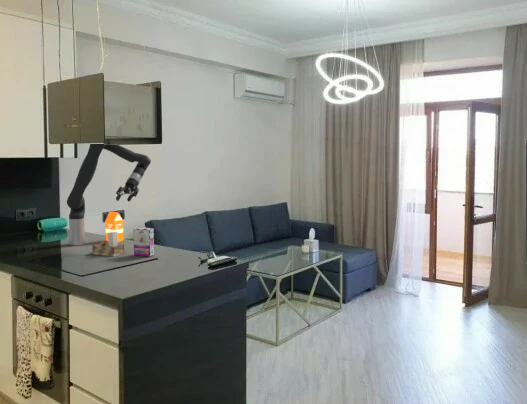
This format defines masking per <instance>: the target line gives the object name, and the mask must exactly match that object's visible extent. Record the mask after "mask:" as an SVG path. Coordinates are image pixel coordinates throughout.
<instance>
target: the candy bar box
mask: <svg viewBox="0 0 527 404" xmlns="http://www.w3.org/2000/svg"><path fill="white" fill-rule="evenodd" d="M154 232H155V228H153V227H151V228H150V227H135V228H133V255H134V256H135V257H147V258H149V257H153V256H155V233H154Z"/></svg>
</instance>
